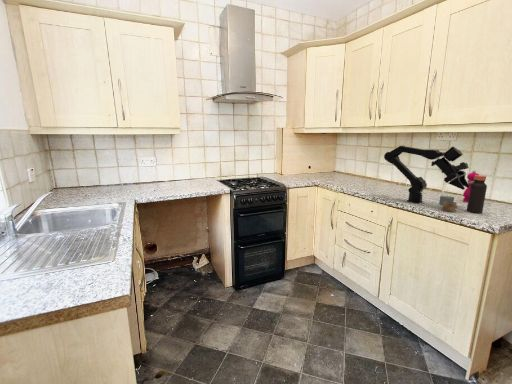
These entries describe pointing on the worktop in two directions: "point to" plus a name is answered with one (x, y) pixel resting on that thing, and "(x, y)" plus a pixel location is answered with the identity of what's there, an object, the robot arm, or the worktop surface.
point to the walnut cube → (449, 206)
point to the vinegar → (477, 194)
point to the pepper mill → (470, 181)
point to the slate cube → (445, 199)
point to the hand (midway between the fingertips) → (466, 188)
